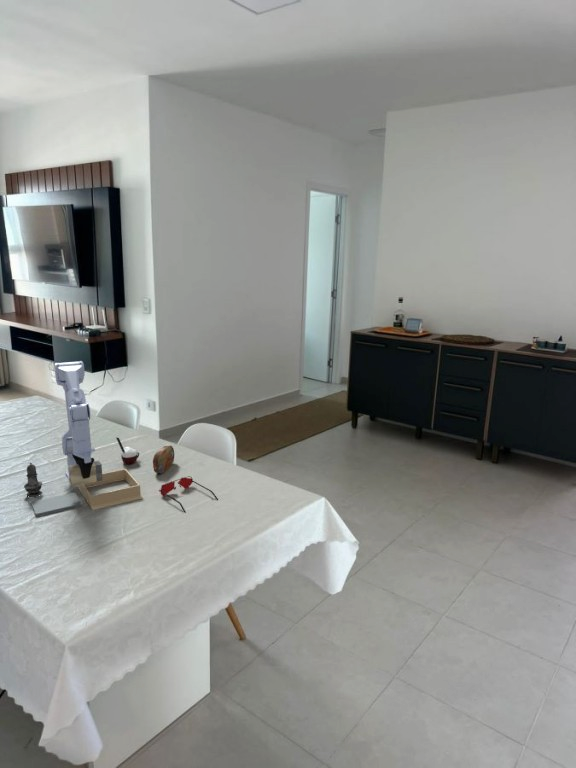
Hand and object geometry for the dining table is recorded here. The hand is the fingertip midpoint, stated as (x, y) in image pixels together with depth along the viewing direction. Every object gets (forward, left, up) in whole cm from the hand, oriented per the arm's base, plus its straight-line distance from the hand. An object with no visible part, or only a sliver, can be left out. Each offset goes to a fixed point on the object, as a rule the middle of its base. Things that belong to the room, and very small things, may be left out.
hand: (84, 475), depth 182 cm
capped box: (0, 0, -2) cm, 2 cm away
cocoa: (-24, +22, -9) cm, 33 cm away
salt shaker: (-13, -15, -9) cm, 21 cm away
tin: (-11, +32, -9) cm, 35 cm away
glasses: (+18, +30, -9) cm, 37 cm away
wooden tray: (-1, +8, -8) cm, 12 cm away
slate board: (0, -10, -8) cm, 13 cm away
